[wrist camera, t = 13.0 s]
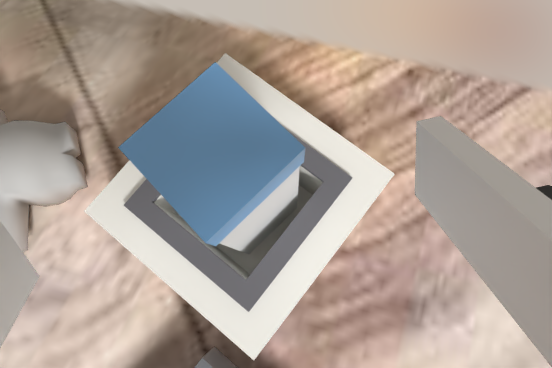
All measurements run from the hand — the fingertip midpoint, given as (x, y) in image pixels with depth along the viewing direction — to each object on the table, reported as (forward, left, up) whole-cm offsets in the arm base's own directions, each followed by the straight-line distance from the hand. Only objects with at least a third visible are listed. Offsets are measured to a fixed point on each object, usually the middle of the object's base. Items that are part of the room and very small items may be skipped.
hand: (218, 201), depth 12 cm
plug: (-1, +1, -11) cm, 11 cm away
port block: (-1, +1, -12) cm, 12 cm away
